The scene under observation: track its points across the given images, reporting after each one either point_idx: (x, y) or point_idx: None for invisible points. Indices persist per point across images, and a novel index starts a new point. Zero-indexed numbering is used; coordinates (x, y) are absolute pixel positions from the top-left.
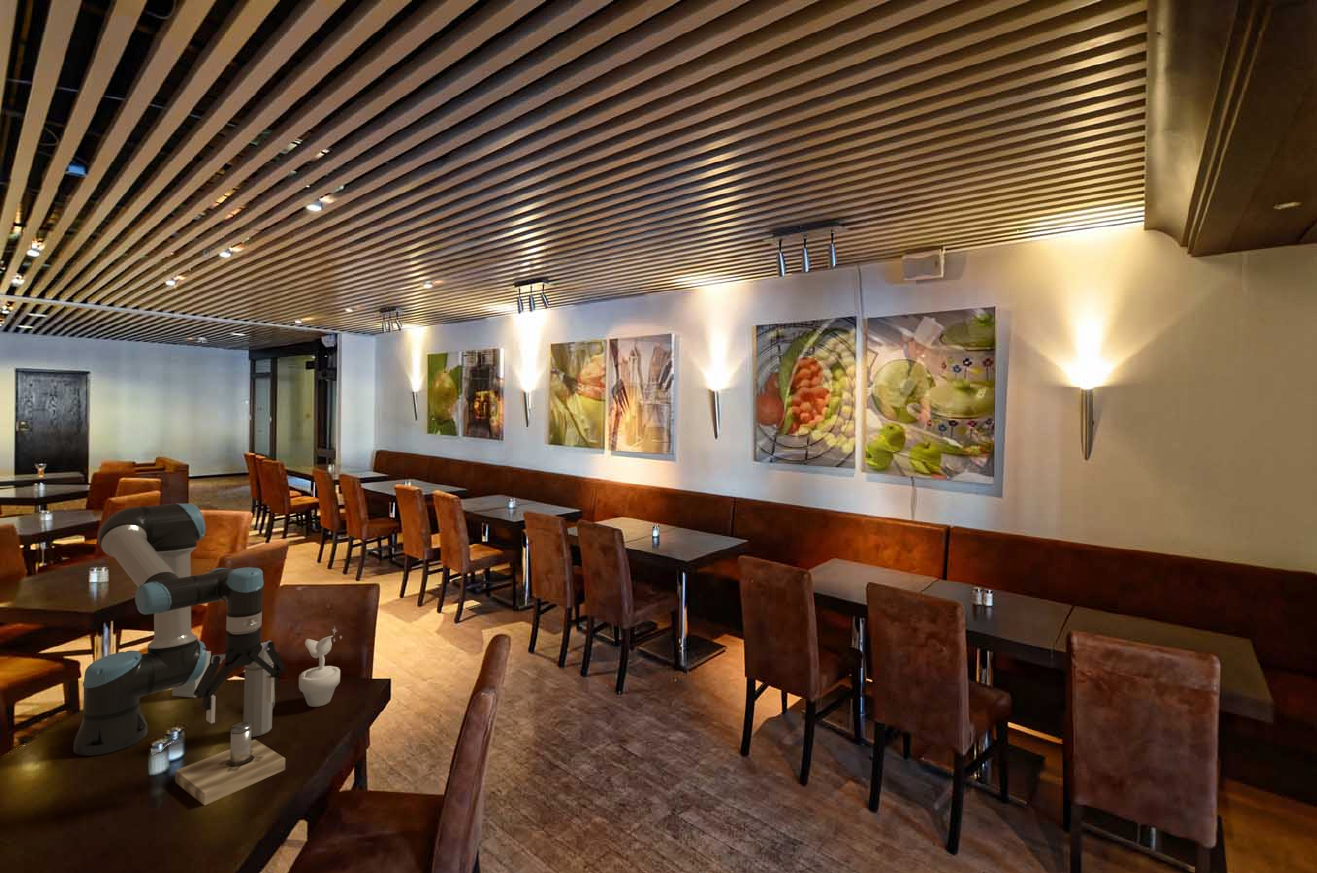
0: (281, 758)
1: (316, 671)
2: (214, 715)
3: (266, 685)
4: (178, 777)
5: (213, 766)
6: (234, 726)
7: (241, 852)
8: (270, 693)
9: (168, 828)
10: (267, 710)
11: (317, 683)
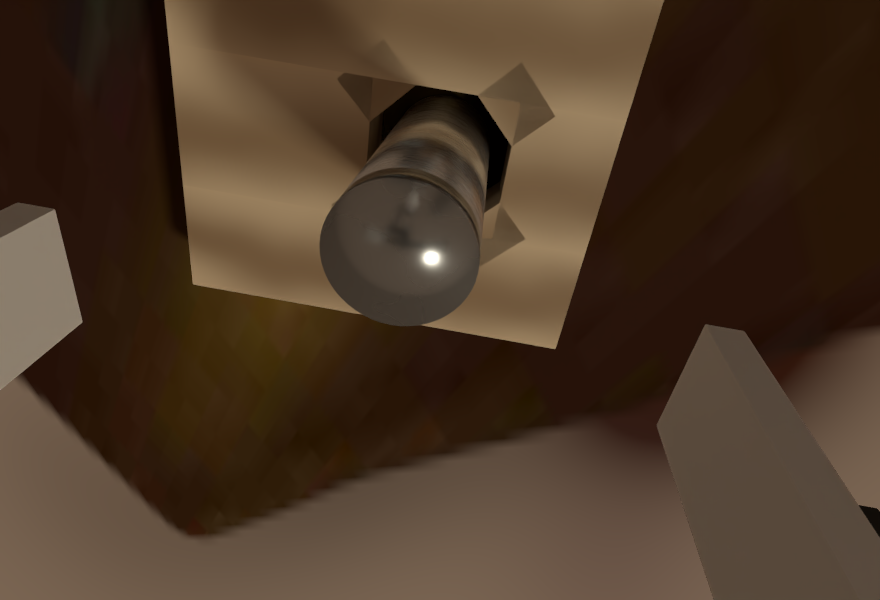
0: (545, 335)
1: None
2: (16, 369)
3: (789, 510)
4: None
5: (318, 80)
6: (365, 208)
7: (208, 528)
8: (692, 516)
9: (88, 274)
10: None
11: None
